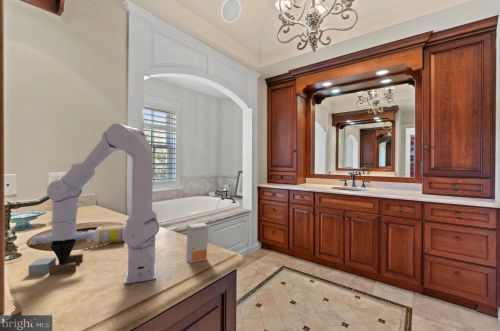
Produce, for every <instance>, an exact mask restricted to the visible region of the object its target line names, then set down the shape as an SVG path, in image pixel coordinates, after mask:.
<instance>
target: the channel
mask: <svg viewBox="0 0 500 331" xmlns="http://www.w3.org/2000/svg"><path fill="white" fill-rule="evenodd" d="M83 262H84V253H77V254H76V253H75V254H70V256H69V260H68V264H59V263H58V264H56V265H51V266H50V267H49V273H48V276H49V277H50V276H57V275H64V274H65V275H66V274H73V273H76V271H77V264H81V263H83Z"/></svg>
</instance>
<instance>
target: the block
mask: <svg viewBox="0 0 500 331" xmlns="http://www.w3.org/2000/svg"><path fill="white" fill-rule="evenodd" d="M56 260H57V257H47V258H45V257H44V258H37V259H36V260H34V261H33V262H32V263H30V264H29V265H28V276H35V275H46V274H47V275H48V274H49V267H50V266H51V265H57V264H56Z"/></svg>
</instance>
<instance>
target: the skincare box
mask: <svg viewBox="0 0 500 331" xmlns="http://www.w3.org/2000/svg"><path fill="white" fill-rule="evenodd" d="M186 232H187V233H186V234H187V235H186V260H187V261H188V262H189V264H193V263H199V262H202V261H207V258H208V241H209V240H208V238H209V226H208V224H206V223H205V222H200V223H198V222H197V223H191V224H187V231H186Z"/></svg>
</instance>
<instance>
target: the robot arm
mask: <svg viewBox="0 0 500 331" xmlns="http://www.w3.org/2000/svg"><path fill="white" fill-rule="evenodd" d="M116 151H124V152H125V153H126V154H127V155H128V156H130V157H131V159H132V162H131V164H132V166H131V167H132V169H131V170H132V172H131V174H132V175H131V176H132V178H131V179H132V180H131V182H132V183H131V213H130V214H129V216H128V218H127V220H126V224H125V225H126V229H125V230H124V233H123V239H124V241H123V242H124V243H125V244H126V245H127V248H128V250H127V251H128V252H127V253H128V254H127V255H128V256H127V257H128V258H127V269H126V274H125V278H124V281H123V284H125V285H127V284H134V283H139V282H146V281H153V280H156V279H157V264H156V261H155V260H156V235H158V233H159V231H160V223H159V222H158V219H157V218H158V217H157V213H156V212H155V210H153V180H154V178H153V177H154V176H153V174H154V173H153V172H154V170H153V169H154V168H153V167H154V165H153V164H154V163H153V162H154V159H153V158H154V153H153V149H152V146H151V144H150V143H149V141H148V139H147V134H145V132H143V131H142V130H140V129H139V128H135V127H131V126H128V125H124V124H121V123H112V124H111V125H110V126H108V128H107V129H106V130H105V131H104V132H102V135H101V140H100V141H99V142H98V143H97V145H95V147H94V148H93V149H92V150H91V152H90V153H89V154H88V155H87V157H86V158H85V159H84V160H83V161H78V162H76V163H72V164H71V166H70V169H68V171H67V172H65V174H64V175H62V176H61V177H60V178H61V179H58V180H55V181H54V180H53V181H51V182H50V183H49V185H48V186H47V189H46V194H47V197H48V198H49V199H50V200H51V201H52V205H51V206H52V209H51V210H52V211H51V212H52V213H51V214H52V219H51V233H50V234H42V235H36V236H35V235H34V236H33V237H32V238H31V245H32V246H35V245H38V244H49V243H51V245H50V249H51V251H52V252H53V253H54V254H55V256H56V259H57V260H58V265H59V264H68V260H69V256H70V255H71V253H72V250H73V248H74V246H75V245H76V242H77V241H80V240H87V239H88V240H90V239H93V237H94V232H88V231H77V214H78V203H79V198H80V196H81V195H82V193H83V187H85V185H86V184H87V183H88V182H89V181H90V180H91V179H92V178H93V177H94V176H95V174H96V168H97V167H98V166H99V165H100V164H101V163H102V162H103V161H105V159H106V158H108V157H109V156H110V155H111V154H112V153H114V152H116Z"/></svg>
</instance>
